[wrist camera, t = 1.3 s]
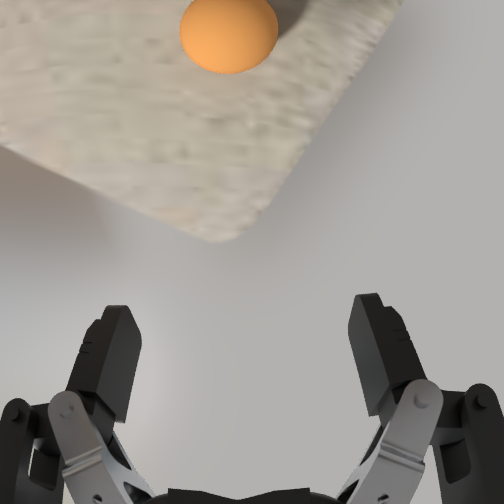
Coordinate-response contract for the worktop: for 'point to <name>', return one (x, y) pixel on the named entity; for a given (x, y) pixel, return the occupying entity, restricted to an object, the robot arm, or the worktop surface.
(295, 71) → the worktop surface
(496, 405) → the robot arm
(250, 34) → the ball
